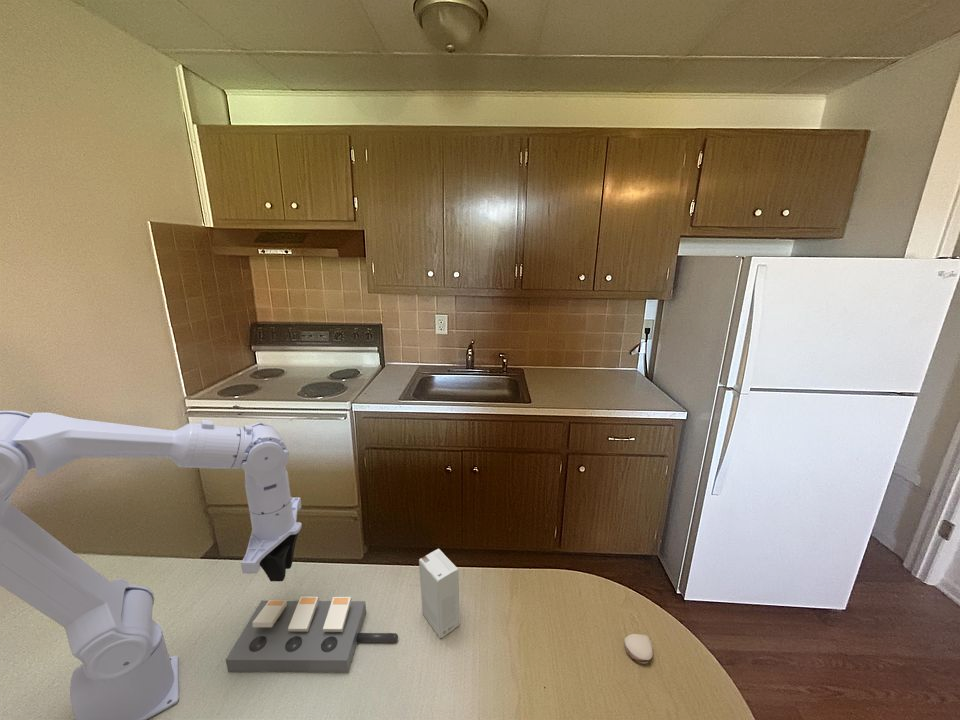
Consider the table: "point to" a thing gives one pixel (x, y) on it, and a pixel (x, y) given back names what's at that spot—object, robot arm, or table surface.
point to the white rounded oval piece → (639, 647)
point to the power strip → (301, 643)
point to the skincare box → (439, 592)
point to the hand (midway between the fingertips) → (281, 573)
